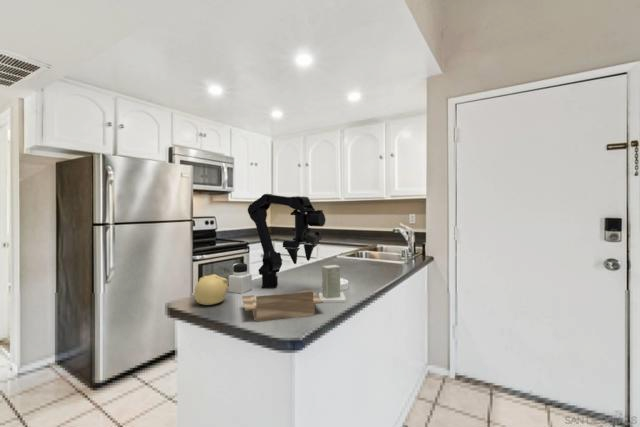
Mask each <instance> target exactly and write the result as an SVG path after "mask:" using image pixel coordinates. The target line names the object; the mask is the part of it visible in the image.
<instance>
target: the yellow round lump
mask: <svg viewBox="0 0 640 427" xmlns="http://www.w3.org/2000/svg"><path fill="white" fill-rule="evenodd" d="M198 280H199V281H197V283H196V285H195V288H194V298H195V300H196V302H197V303H198V304H200V305H203V306H211V305H216V304H219V303H221V302H223V301H224V299H225V297H226V294H227V292H228V290H229V279H227V278H225V277H222V276H219V275H217V274H216V273H215V274H209V275H203V276H202V277H200V278H198Z"/></svg>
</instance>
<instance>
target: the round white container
mask: <svg viewBox="0 0 640 427" xmlns="http://www.w3.org/2000/svg"><path fill="white" fill-rule="evenodd" d="M321 288H322V289H323V280H322V281H321ZM348 289H349V280H347V279H346V278H341V277H340V292H342V291H347V290H348Z"/></svg>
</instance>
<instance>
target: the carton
mask: <svg viewBox="0 0 640 427" xmlns="http://www.w3.org/2000/svg"><path fill="white" fill-rule="evenodd" d="M241 297H242V298H241V299H242V301H243V308H244V311H245V312H246V311H247V312H248V311H251V313H252V316H253V317H252V318H253V319H254V321H255V322H261V321H263V322H265V321H273V320H281V319H282V320H283V319H290V318H299V317H308V316H309V317H310V316H314V315H316V304H318V305H320V304H324V303H323V301H322V300H321V299H320V298H319V295H317V294H316V293H315V292H314V291H313V290H312V289H310V290H301V291H300V292H299V291H298V292H290V293H278V294H267V295H266V294H265V295H257V296H255V295H254V294H253V295H252V294H251V295H242V296H241Z"/></svg>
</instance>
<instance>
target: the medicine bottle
mask: <svg viewBox="0 0 640 427" xmlns="http://www.w3.org/2000/svg"><path fill="white" fill-rule="evenodd" d="M252 280H253V279H252V273H248V264H247V263H245V262H239V263H234V264H233V265H232V274H231V275H228V292H229V293H235V294H241V295H242V294H245V293H247V292H249V291H252V290H253V289H252V287H253V285H252V284H253V283H252Z"/></svg>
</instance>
